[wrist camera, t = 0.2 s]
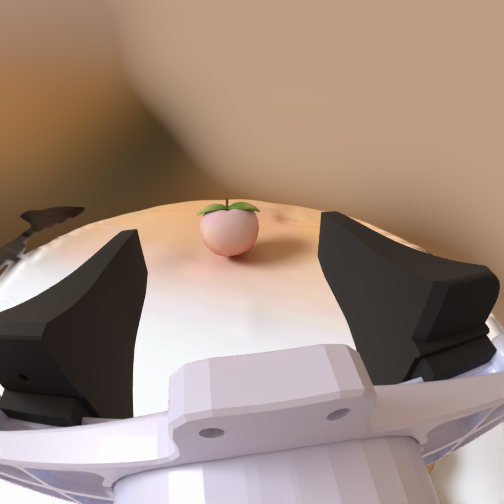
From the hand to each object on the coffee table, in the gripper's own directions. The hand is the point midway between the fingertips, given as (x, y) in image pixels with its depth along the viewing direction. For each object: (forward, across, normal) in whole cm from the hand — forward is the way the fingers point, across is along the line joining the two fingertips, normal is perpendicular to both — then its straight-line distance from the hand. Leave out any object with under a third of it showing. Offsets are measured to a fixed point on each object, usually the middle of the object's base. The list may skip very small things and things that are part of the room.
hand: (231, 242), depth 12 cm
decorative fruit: (+32, -1, +22) cm, 39 cm away
